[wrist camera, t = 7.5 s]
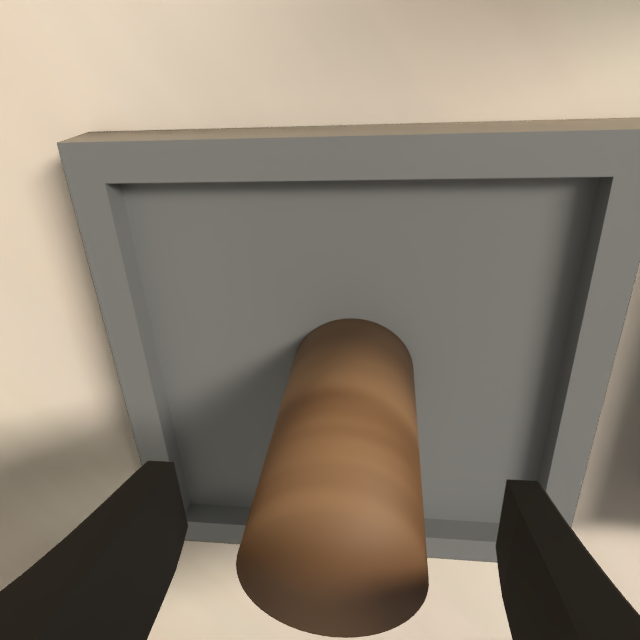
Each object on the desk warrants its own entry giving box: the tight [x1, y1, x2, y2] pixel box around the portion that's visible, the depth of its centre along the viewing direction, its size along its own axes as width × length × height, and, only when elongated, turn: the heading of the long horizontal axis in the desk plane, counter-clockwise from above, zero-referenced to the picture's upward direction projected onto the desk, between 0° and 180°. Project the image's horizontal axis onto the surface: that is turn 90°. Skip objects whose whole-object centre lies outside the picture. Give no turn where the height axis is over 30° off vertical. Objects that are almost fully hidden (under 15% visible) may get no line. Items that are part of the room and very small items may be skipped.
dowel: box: [236, 318, 429, 638], centre depth 13 cm, size 4×4×7 cm
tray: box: [57, 118, 640, 562], centre depth 16 cm, size 14×14×2 cm
